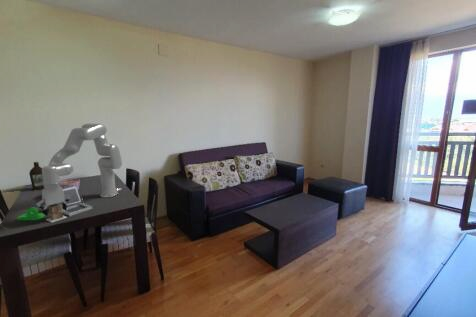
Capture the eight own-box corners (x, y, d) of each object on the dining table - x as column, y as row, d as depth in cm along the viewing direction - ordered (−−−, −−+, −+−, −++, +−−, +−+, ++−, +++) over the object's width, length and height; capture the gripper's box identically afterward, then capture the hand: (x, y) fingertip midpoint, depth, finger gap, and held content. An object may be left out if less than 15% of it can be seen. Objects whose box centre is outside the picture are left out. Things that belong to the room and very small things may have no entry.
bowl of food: (87, 192, 193) (85, 179, 191) (66, 200, 174) (64, 185, 172) (67, 191, 196) (65, 178, 194) (44, 198, 177) (42, 184, 175)
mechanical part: (44, 216, 144) (43, 204, 143) (36, 220, 138) (34, 208, 137) (26, 216, 144) (24, 204, 143) (17, 220, 138) (15, 208, 137)
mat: (61, 215, 145) (61, 214, 145) (66, 217, 142) (66, 216, 142) (46, 220, 138) (46, 219, 138) (51, 222, 135) (51, 221, 135)
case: (79, 203, 167) (77, 185, 165) (94, 208, 158) (92, 189, 155) (55, 210, 154) (52, 191, 151) (69, 216, 144) (67, 195, 142)
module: (59, 215, 144) (57, 202, 142) (63, 217, 141) (61, 204, 140) (50, 218, 139) (48, 205, 138) (53, 220, 137) (51, 206, 135)
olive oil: (31, 189, 200) (27, 162, 196) (47, 187, 208) (43, 160, 204) (32, 192, 193) (27, 163, 189) (48, 189, 200) (44, 162, 196)
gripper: (65, 181, 146) (68, 206, 149) (31, 188, 131) (35, 216, 134) (71, 183, 142) (74, 208, 145) (37, 190, 127) (41, 218, 130)
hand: (55, 212), depth 140 cm, fingers open, 9 cm apart
